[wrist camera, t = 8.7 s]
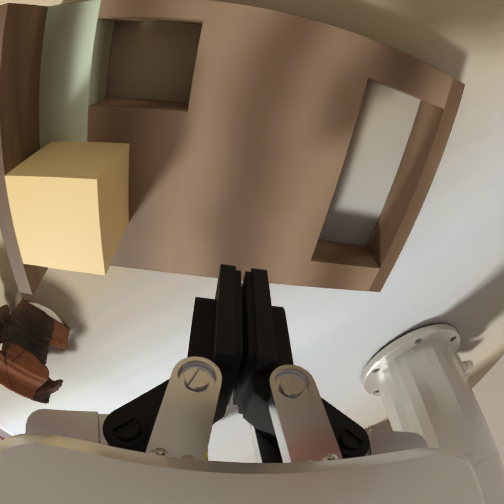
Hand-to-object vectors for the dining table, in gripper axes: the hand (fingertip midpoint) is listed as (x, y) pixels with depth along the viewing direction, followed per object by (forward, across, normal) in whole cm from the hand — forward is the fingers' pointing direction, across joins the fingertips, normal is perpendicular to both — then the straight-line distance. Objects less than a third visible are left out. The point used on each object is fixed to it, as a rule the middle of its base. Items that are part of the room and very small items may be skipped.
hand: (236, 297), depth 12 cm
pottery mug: (+9, +18, +15) cm, 26 cm away
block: (+6, +8, -1) cm, 10 cm away
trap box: (+9, +1, -3) cm, 9 cm away
